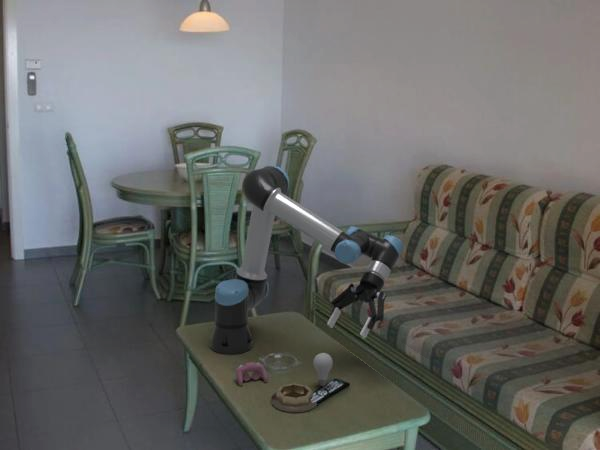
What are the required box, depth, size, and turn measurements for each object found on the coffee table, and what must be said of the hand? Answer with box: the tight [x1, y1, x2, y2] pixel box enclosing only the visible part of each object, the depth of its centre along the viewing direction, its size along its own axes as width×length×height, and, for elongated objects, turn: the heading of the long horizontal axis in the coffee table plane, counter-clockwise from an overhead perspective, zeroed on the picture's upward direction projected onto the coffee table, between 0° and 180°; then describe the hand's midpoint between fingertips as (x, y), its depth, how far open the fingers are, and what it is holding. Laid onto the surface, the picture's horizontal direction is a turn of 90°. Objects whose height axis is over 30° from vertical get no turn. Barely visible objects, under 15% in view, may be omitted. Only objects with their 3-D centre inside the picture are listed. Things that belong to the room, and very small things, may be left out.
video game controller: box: [235, 361, 268, 387], centre depth 221 cm, size 10×5×7 cm, turn 111°
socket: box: [270, 383, 318, 414], centre depth 208 cm, size 14×14×4 cm
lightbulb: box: [312, 352, 334, 387], centre depth 218 cm, size 6×6×11 cm
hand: (345, 331), depth 224 cm, fingers open, 13 cm apart
